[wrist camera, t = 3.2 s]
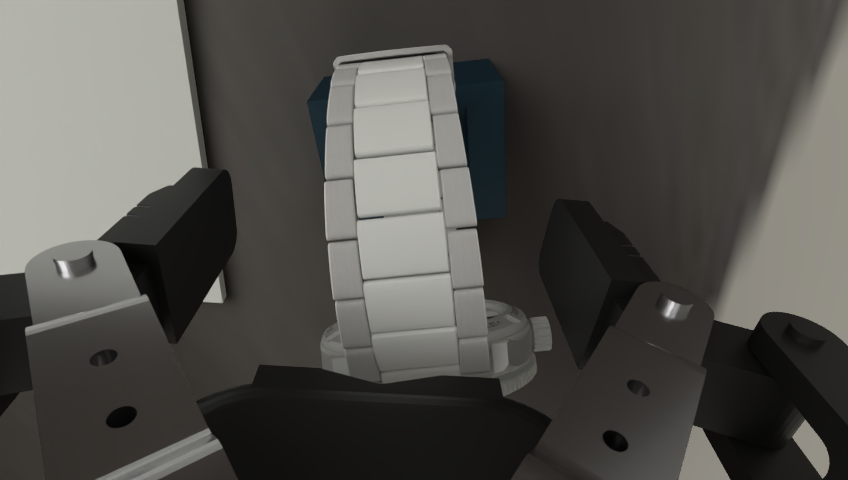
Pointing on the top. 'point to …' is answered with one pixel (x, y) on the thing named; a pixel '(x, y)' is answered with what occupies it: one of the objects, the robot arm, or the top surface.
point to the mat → (91, 118)
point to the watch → (416, 219)
